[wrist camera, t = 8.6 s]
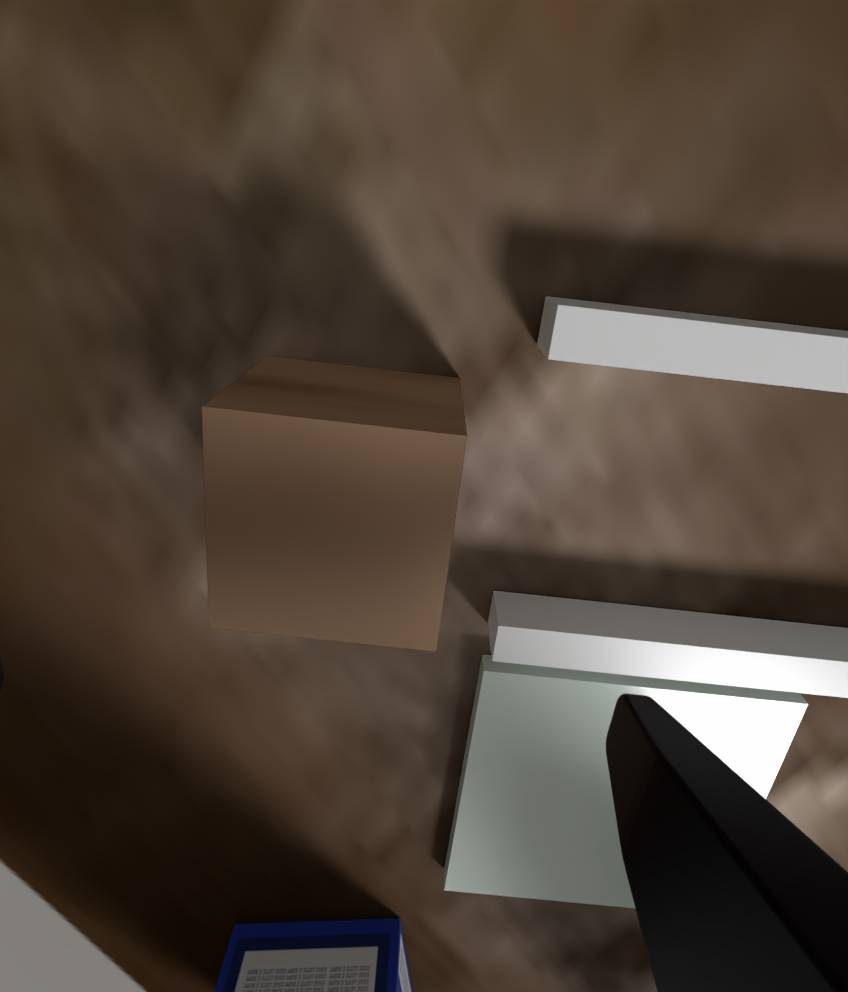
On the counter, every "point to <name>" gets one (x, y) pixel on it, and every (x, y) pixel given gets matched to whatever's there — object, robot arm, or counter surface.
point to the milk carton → (316, 957)
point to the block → (332, 501)
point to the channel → (666, 632)
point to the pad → (581, 774)
